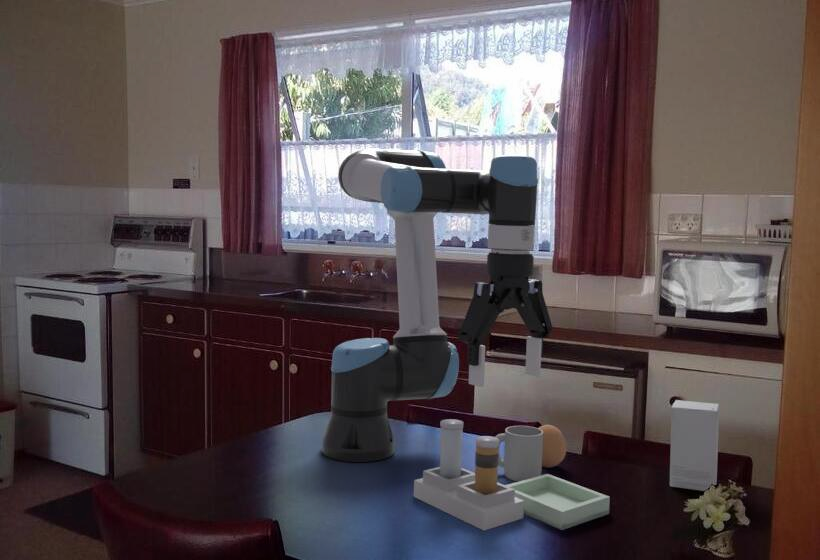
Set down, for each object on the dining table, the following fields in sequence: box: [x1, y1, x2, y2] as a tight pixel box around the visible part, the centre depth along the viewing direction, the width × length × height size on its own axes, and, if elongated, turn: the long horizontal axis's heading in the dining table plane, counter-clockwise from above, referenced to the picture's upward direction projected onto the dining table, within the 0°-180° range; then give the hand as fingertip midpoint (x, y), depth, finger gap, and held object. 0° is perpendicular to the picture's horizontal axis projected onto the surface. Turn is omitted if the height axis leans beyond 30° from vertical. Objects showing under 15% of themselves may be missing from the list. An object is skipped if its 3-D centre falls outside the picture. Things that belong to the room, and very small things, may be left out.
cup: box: [494, 425, 543, 482], centre depth 150 cm, size 7×10×9 cm
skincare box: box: [669, 399, 720, 492], centre depth 147 cm, size 8×7×16 cm
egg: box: [538, 424, 567, 469], centre depth 156 cm, size 7×7×8 cm
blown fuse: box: [474, 435, 500, 495], centre depth 129 cm, size 4×4×10 cm
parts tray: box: [504, 473, 611, 531], centre depth 134 cm, size 14×12×3 cm
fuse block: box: [413, 418, 524, 532], centre depth 133 cm, size 18×9×14 cm, turn 38°
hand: (505, 380), depth 129 cm, fingers open, 13 cm apart
